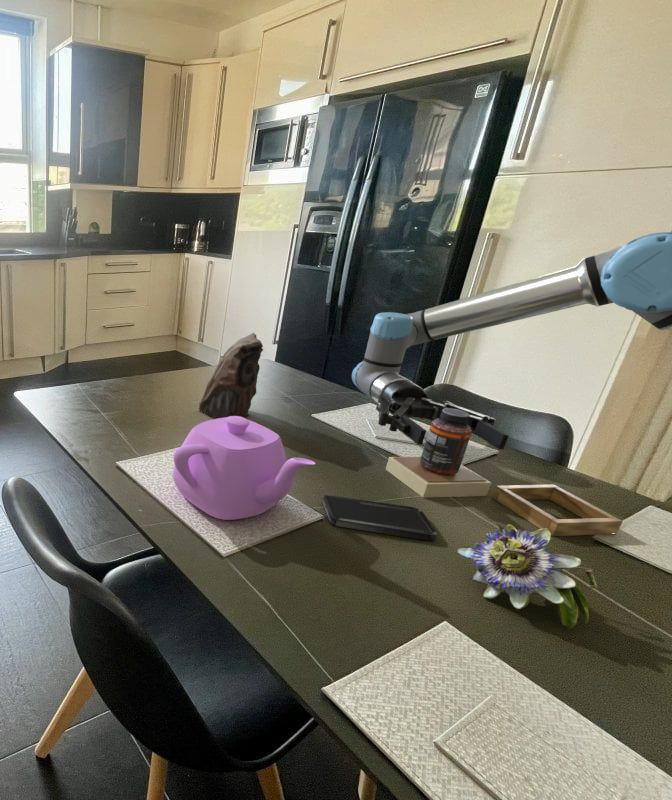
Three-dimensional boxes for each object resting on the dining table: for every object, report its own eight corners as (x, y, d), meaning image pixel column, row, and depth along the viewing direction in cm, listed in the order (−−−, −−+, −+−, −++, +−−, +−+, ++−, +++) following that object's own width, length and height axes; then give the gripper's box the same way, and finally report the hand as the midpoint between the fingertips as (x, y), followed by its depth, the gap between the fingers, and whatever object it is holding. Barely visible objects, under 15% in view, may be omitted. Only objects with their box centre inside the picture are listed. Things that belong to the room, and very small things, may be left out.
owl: (240, 405, 125) (252, 330, 118) (270, 425, 114) (285, 343, 107) (196, 409, 123) (205, 332, 115) (221, 430, 111) (233, 345, 104)
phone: (439, 536, 74) (332, 519, 77) (437, 542, 74) (330, 525, 78) (420, 507, 81) (322, 493, 84) (418, 513, 81) (321, 498, 85)
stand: (442, 468, 96) (447, 454, 95) (486, 496, 87) (491, 481, 86) (385, 469, 95) (389, 456, 94) (423, 497, 86) (427, 483, 85)
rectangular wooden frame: (548, 496, 87) (553, 484, 86) (616, 534, 77) (623, 521, 76) (491, 497, 86) (496, 485, 85) (552, 536, 76) (558, 523, 75)
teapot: (140, 491, 86) (146, 414, 81) (227, 465, 96) (238, 394, 90) (234, 571, 68) (251, 477, 62) (332, 529, 77) (354, 444, 71)
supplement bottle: (453, 464, 91) (472, 409, 87) (461, 479, 86) (482, 421, 82) (416, 457, 94) (433, 403, 89) (421, 471, 89) (440, 415, 84)
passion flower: (477, 629, 66) (436, 544, 67) (524, 593, 69) (484, 513, 71) (581, 650, 55) (530, 549, 56) (630, 606, 59) (581, 512, 60)
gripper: (454, 415, 104) (531, 463, 84) (334, 409, 106) (382, 454, 87) (465, 382, 101) (547, 424, 81) (342, 376, 104) (393, 416, 84)
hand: (462, 440), depth 84 cm, fingers open, 13 cm apart
